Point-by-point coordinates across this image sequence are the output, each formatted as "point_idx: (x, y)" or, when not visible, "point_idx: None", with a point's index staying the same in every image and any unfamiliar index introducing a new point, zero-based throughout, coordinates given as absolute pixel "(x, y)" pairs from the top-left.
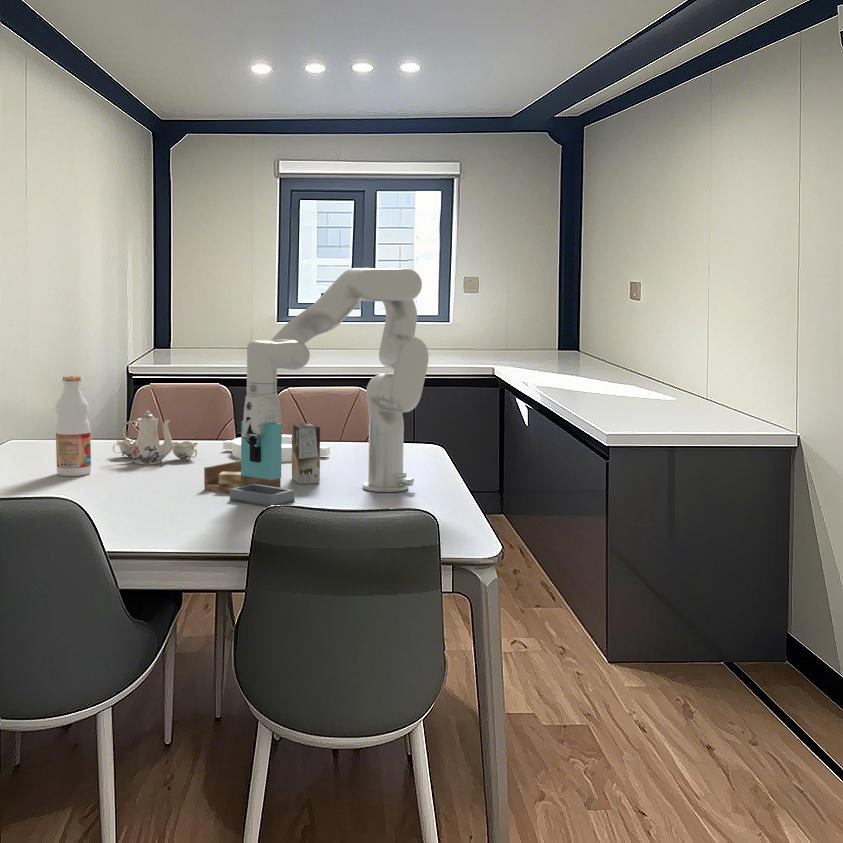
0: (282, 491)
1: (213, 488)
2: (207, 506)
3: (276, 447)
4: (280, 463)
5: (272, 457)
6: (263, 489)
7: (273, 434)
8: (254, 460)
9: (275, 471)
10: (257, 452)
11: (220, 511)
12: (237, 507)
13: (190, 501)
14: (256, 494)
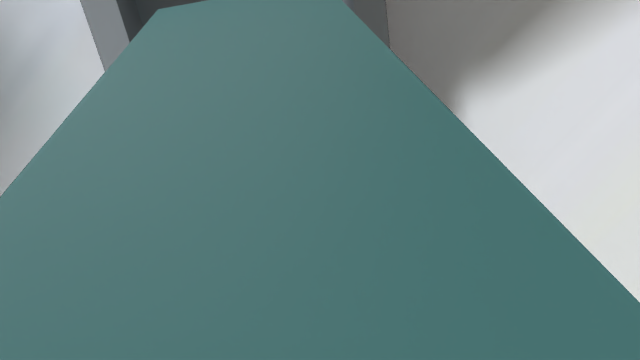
0: (130, 29)
1: None
2: (570, 182)
3: (228, 107)
4: (146, 42)
5: (335, 34)
6: None
7: (439, 279)
8: None
9: (252, 5)
10: None
11: (635, 32)
12: (495, 53)
13: None
14: (386, 43)
